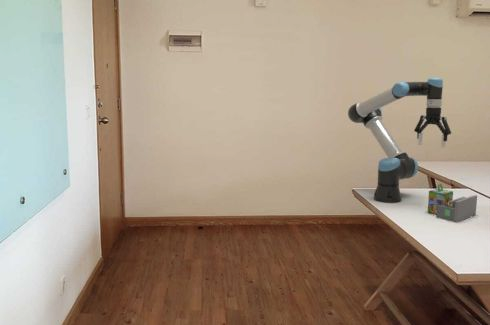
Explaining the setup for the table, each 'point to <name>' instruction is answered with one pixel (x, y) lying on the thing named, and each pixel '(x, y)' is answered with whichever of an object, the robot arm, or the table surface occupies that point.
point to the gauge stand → (458, 209)
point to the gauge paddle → (452, 202)
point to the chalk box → (438, 199)
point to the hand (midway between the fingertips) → (431, 146)
